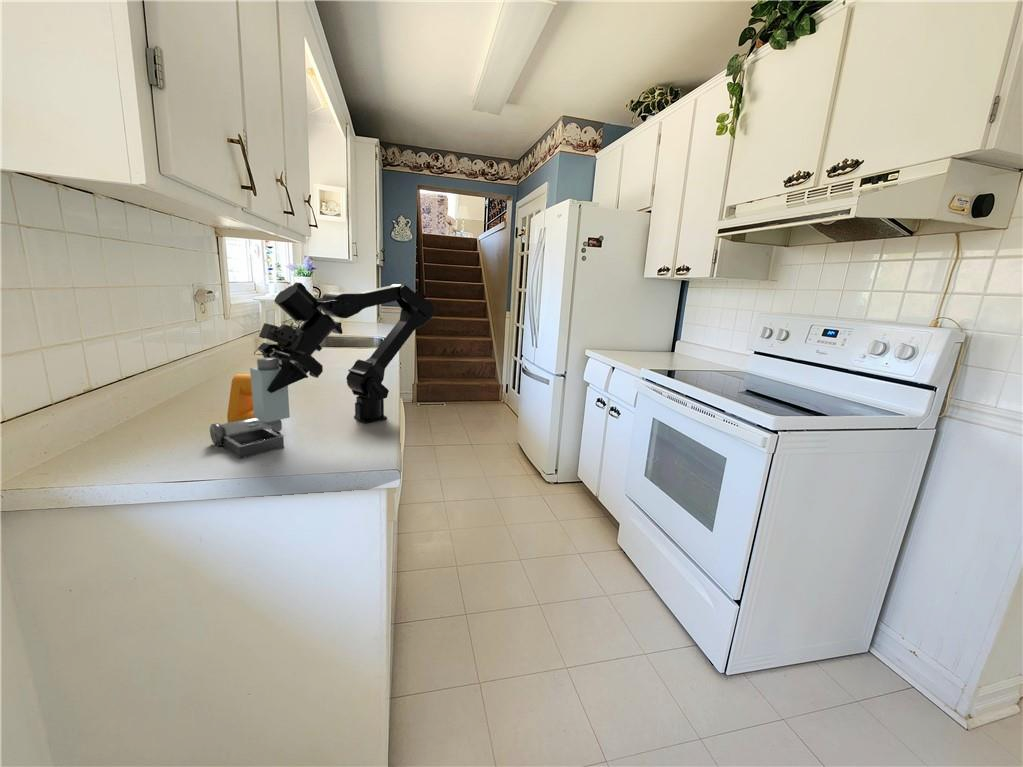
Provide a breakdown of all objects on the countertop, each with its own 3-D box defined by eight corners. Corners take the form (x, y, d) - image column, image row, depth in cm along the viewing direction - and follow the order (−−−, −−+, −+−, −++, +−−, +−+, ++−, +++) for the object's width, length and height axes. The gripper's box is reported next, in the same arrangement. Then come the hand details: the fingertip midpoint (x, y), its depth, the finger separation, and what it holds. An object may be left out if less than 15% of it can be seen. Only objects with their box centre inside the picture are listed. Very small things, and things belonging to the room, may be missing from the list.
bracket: (258, 428, 102) (254, 380, 100) (228, 426, 102) (223, 378, 100) (281, 414, 113) (277, 371, 110) (253, 413, 113) (249, 369, 110)
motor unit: (273, 428, 102) (271, 409, 101) (300, 443, 95) (299, 422, 94) (211, 442, 92) (208, 421, 91) (236, 459, 84) (234, 437, 83)
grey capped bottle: (278, 412, 96) (274, 356, 93) (289, 417, 93) (286, 359, 90) (253, 417, 92) (249, 358, 89) (264, 422, 89) (260, 362, 86)
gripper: (264, 307, 96) (212, 359, 90) (306, 313, 85) (251, 373, 79) (300, 339, 104) (255, 389, 98) (342, 349, 93) (295, 406, 87)
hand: (263, 389), depth 90 cm, fingers closed on grey capped bottle, 5 cm apart
